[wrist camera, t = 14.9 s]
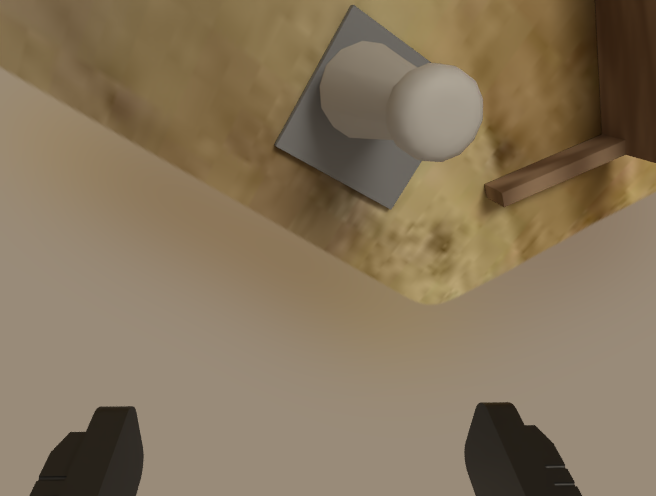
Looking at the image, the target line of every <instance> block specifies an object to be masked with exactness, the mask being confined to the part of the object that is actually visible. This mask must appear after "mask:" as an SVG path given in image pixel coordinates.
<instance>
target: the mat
mask: <svg viewBox="0 0 656 496" xmlns="http://www.w3.org/2000/svg"><path fill="white" fill-rule="evenodd" d="M361 41H368V42H375V43H382V44H384V45H386V46H387V47H388V48H390V49H391V50H393V51H394V52H395V53H397V54H398V55H400V56H401V57H402V58H404V59H405V60H407V61H408V62H410V63H411V64H413V65H415V66H416V67H420V66H422V65H425V64H427V63H431V62H430V61H428V60H427V59H426V58H424V57H423V56H422V55H420V54H419V53H418V52H416V51H415V50H413V49H412V48H411V47H409V46H408V45H407V44H405V43H404V42H403V41H401V40H400V39H399V38H397V37H396V36H395V35H393V34H392V33H391V32H389V31H388V30H387V29H385V28H384V27H383V26H381V25H380V24H379V23H377V22H376V21H375V20H373V19H372V18H371V17H369V16H368V15H367V14H365V13H364V12H363V11H361V10H360V9H359V8H357V7H356V6H354V5H351V6H350V8H349V9H348V11H347V13H346V15H345V17H344V19H343V20H342V22H341V24H340V26H339V28H338V29H337V31H336V33H335V35H334V37H333V39H332V40H331V42H330V44H329V46H328V48H327V49H326V51H325V53H324V55H323V57H322V59H321V60H320V62H319V64H318V66H317V68H316V69H315V71H314V73H313V75H312V77H311V79H310V80H309V82H308V84H307V86H306V88H305V89H304V91H303V93H302V95H301V97H300V99H299V100H298V102H297V104H296V106H295V108H294V109H293V111H292V113H291V115H290V117H289V119H288V120H287V122H286V124H285V126H284V128H283V129H282V131H281V133H280V135H279V137H278V139H277V140H276V142H275V144H274V145H275V146H276V147H278V148H280V149H282V150H283V151H285V152H287V153H289V154H291V155H292V156H294V157H296V158H298V159H300V160H302V161H303V162H305V163H307V164H309V165H311V166H312V167H314V168H316V169H318V170H320V171H322V172H323V173H325V174H327V175H329V176H331V177H332V178H334V179H336V180H338V181H340V182H342V183H343V184H345V185H347V186H349V187H351V188H352V189H354V190H356V191H358V192H360V193H362V194H363V195H365V196H367V197H369V198H371V199H372V200H374V201H376V202H378V203H380V204H381V205H383V206H385V207H387V208H389V209H392V207H393V206H394V204H395V203H396V201H397V200H398V198H399V196H400V195H401V193H402V192H403V190H404V188H405V187H406V185H407V184H408V182H409V180H410V179H411V177H412V176H413V174H414V172H415V171H416V169H417V168H418V166H419V165H420V163H421V160H416V159H415V158H413V157H412V156H410V155H409V154H407V153H406V152H404V151H403V150H401V149H400V148H399V147H397V146H396V144H395V142H394V140H381V139H363V138H349V137H348V136H346V135H345V134H343V133H342V132H340V131H339V130H337V129H336V128H334V127H333V126H332V124H331V123H330V121H329V119H328V118H327V116H326V115H325V113H324V111H323V110H322V108H321V97H320V83H321V80H322V77H323V73H324V70H325V67H326V65H327V64H328V63H329V62H330V61H331V59H332V58H333V57H334V56H335V55H336V54H337V53H338V52H339V51H340V50H341V49H343V48H346V47H348V46H351V45H353V44H356V43H358V42H361Z"/></svg>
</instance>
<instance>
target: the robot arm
mask: <svg viewBox="0 0 656 496" xmlns="http://www.w3.org/2000/svg"><path fill="white" fill-rule="evenodd" d="M465 464H466V468H467V472H468V475H469V478H470V480H471V483H472V486H473V489H474V492H475V495H476V496H582V495H581V493H580V491H579V489H578V487H577V486H576V487H575V485H574V480H573V478H572V477H571V475H570V473H569V471H568V469H566V468H565V464H564V462H563V460H562V458H561V456H560V455H559V453H558V451H557V449H556V447H555V446H554V444H553V443H552V442H551V441H550V440H549V439H548V438H547V437H546V436H545V435H544V434H543V433H542V432H541V431H540V430H539V429H538V428H537V427H536V426H535V425H528V426H527V425H524V423H523V421H522V419H521V418H520V415H519V413H518V411H517V409H516V408H515V406H514V405H513V404H512V403H508V402H505V403H504V402H503V403H501V402H500V403H479V404H478V405H477V406H476V409H475V413H474V416H473V419H472V423H471V426H470V429H469V433H468V436H467V440H466V444H465ZM142 468H143V446H142V440H141V435H140V430H139V424H138V419H137V413H136V409H135V408H134V407H132V406H128V407H99V408H97V409H96V411H95V413H94V415H93V417H92V419H91V421H90V424H89V426H88V429H87V431H86V432H70V433H69V434H68V435H67V436H66V437H65V438H64V439H63V440H62V441H61V442H60V443H59V444H58V445H57V446H56V447H55V448H54V450H53V451H52V452H51V453H50V455H49V457H48V459H47V461H46V463H45V465H44V467H43V469H42V471H41V473H40V475H39V480H38V481H36V484H35V486H34V487H33V490H32V492H31V494H30V496H136V493H137V490H138V486H139V483H140V479H141V475H142Z"/></svg>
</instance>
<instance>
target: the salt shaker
mask: <svg viewBox="0 0 656 496" xmlns="http://www.w3.org/2000/svg"><path fill="white" fill-rule="evenodd" d="M320 97H321V108H322V110H323V111H324V113H325V115H326V116H327V118H328V119H329V121H330V123H331V124H332V126H333V127H334V128H336V129H337V130H339V131H340V132H342V133H343V134H345V135H346V136H348V137H349V138H363V139H381V140H394V142H395V144H396V146H397V147H399V148H400V149H401V150H403V151H404V152H406V153H407V154H409V155H410V156H412V157H413V158H415V159H416V160H421V161H435V162H443V161H445V160H448V159H450V158H453V157H455V156H457V155H460V154H461V153H462V152H463V151H464V150H465V148H466V147H467V146H468V145H469V144H470V143H471V142H472V141H473V140H474V138H475V136H476V134H477V132H478V129H479V127H480V125H481V123H482V120H483V98H482V95H481V93H480V90H479V88H478V85H477V83H476V81H475V80H474V79H472V78H471V77H470V76H469V75H467V74H466V73H465V72H463V71H462V70H461V69H459V68H457V67H456V66H452V65H445V64H438V63H427V64H425V65H422V66H420V67H416V66H415V65H413V64H411V63H410V62H408V61H407V60H405V59H404V58H402V57H401V56H400V55H398V54H397V53H395V52H394V51H393V50H391V49H390V48H388V47H387V46H386V45H384V44H382V43H375V42H368V41H361V42H358V43H356V44H353V45H351V46H348V47H346V48H343V49H341V50H340V51H339V52H338V53H337V54H336V55H335V56H334V57H333V58H332V59H331V61H330V62H329V63H328V64H327V65H326V67H325V70H324V73H323V77H322V80H321V83H320Z"/></svg>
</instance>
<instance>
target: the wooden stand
mask: <svg viewBox="0 0 656 496" xmlns="http://www.w3.org/2000/svg"><path fill="white" fill-rule="evenodd" d="M595 9H596V29H597V49H598V68H599V88H600V107H601V127H602V135H599V136H597V137H594V138H592V139H590V140H587V141H585V142H583V143H580V144H578V145H576V146H573V147H571V148H569V149H566V150H564V151H562V152H559V153H557V154H554V155H552V156H550V157H547V158H545V159H543V160H540V161H538V162H536V163H533V164H531V165H529V166H526V167H524V168H522V169H519V170H517V171H514V172H512V173H510V174H507V175H505V176H503V177H500V178H498V179H496V180H493V181H491V182H489V183H486V184H485V189H486V195H487V198H489V199H490V200H492V201H494V202H496V203H498V204H500V205H501V206H503V207H506V206H508V205H510V204H513V203H515V202H517V201H519V200H522V199H524V198H526V197H529V196H531V195H533V194H536V193H538V192H540V191H543V190H545V189H547V188H550V187H552V186H554V185H556V184H559V183H561V182H563V181H566V180H568V179H570V178H573V177H575V176H577V175H580V174H582V173H584V172H587V171H589V170H591V169H593V168H596V167H598V166H600V165H603V164H605V163H607V162H610V161H612V160H614V159H617V158H619V157H621V156H624V155H629V156H633V157H636V158H640V159H643V160H647V161H650V162H654V163H656V0H595Z"/></svg>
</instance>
